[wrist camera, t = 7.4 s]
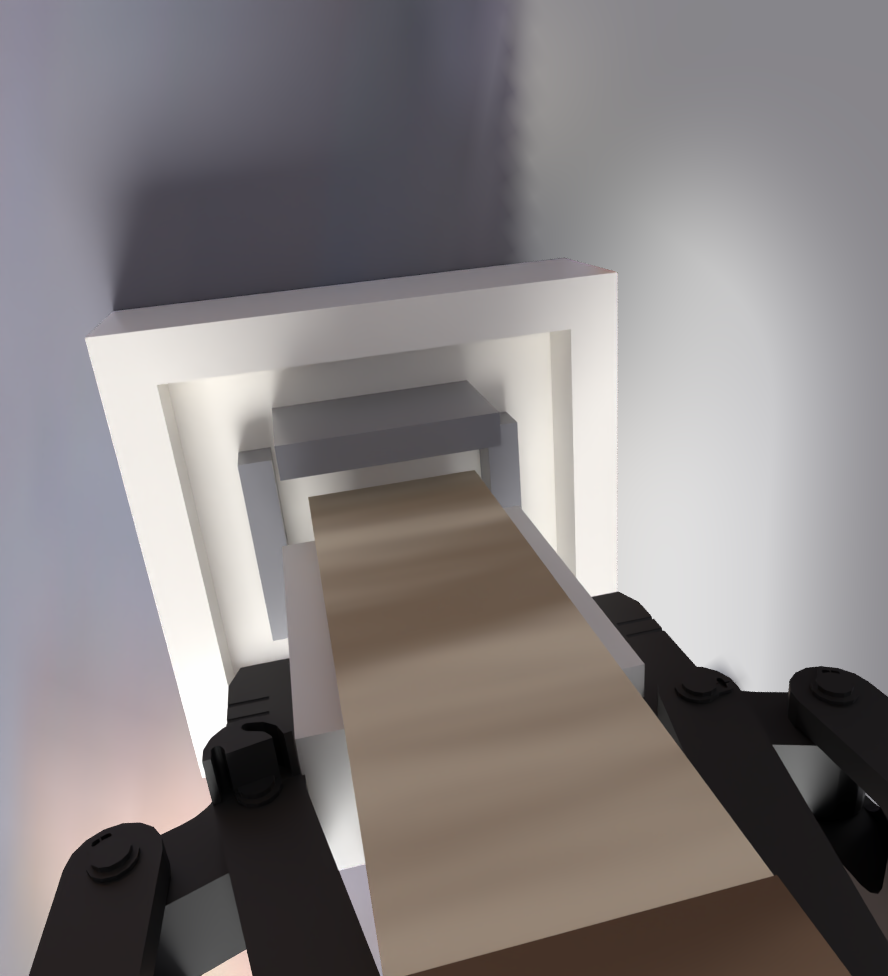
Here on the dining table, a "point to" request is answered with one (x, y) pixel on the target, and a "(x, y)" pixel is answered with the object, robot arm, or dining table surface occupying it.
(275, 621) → the white square frame
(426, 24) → the dining table surface
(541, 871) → the wood grain beam
